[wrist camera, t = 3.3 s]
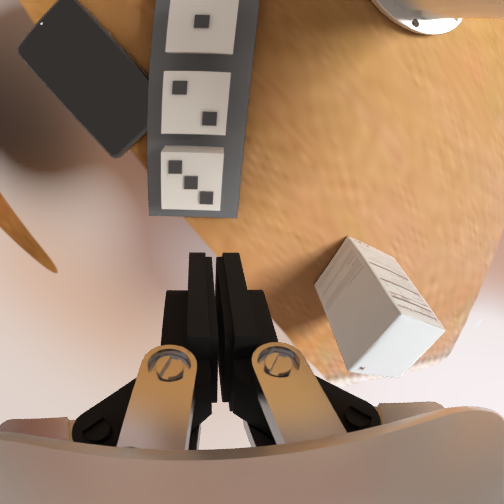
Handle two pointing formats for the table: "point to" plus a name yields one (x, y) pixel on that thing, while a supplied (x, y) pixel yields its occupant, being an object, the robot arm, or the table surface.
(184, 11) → the tile one
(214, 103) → the tile two
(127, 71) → the smartphone
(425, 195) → the table surface
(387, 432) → the robot arm
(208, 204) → the tile three
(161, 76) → the button board
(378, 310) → the supplement box
